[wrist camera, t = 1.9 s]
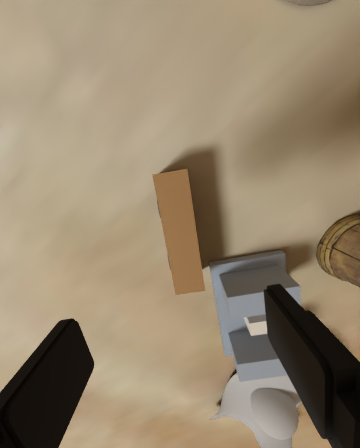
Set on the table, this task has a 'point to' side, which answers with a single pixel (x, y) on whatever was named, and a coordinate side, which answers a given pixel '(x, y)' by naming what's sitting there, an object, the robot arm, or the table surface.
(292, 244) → the table surface
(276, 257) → the display stand
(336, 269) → the wooden mug
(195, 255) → the tan wooden plank
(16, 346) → the table surface
